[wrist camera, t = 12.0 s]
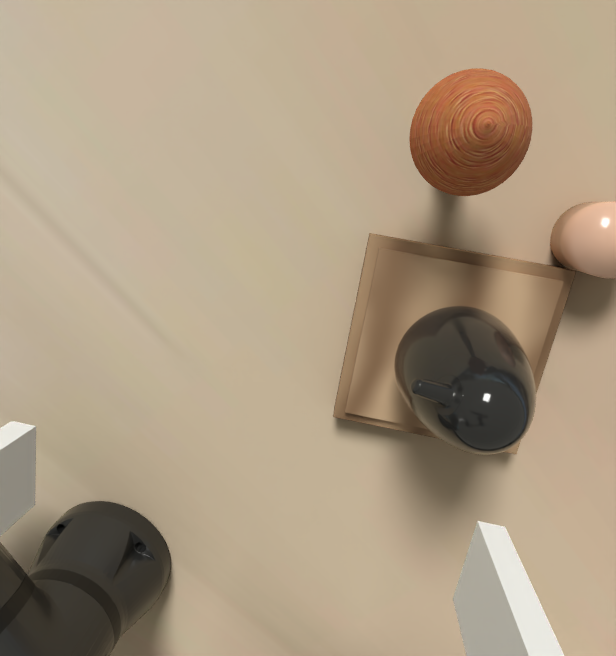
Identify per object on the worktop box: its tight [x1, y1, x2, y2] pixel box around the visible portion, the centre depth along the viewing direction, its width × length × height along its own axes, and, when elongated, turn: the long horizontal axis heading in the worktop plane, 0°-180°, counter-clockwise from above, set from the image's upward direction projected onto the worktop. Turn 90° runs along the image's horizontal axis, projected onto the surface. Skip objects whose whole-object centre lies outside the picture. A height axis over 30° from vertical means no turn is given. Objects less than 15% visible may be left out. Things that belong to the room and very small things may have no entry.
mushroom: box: [410, 69, 532, 196], centre depth 33 cm, size 8×8×15 cm
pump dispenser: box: [394, 306, 536, 455], centre depth 34 cm, size 10×10×15 cm
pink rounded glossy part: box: [550, 202, 616, 279], centre depth 38 cm, size 6×6×5 cm
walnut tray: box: [333, 233, 576, 454], centre depth 43 cm, size 18×18×3 cm
